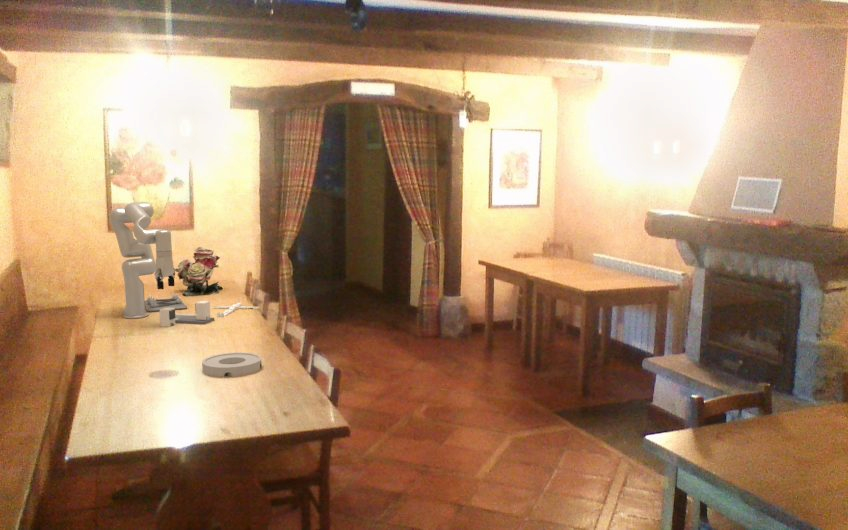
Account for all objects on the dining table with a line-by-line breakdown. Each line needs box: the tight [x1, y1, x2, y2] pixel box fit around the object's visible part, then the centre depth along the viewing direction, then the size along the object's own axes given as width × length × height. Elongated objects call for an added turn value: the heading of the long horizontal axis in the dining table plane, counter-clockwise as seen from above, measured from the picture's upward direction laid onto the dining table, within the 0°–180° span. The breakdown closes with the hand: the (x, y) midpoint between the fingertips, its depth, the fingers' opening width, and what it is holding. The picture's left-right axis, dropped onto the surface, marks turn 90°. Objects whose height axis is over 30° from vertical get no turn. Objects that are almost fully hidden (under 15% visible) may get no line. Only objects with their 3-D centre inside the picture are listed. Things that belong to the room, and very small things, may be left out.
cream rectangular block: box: [159, 308, 176, 328], centre depth 371 cm, size 6×6×9 cm
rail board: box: [175, 300, 215, 325], centre depth 380 cm, size 25×10×11 cm, turn 77°
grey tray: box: [145, 294, 188, 313], centre depth 422 cm, size 30×22×7 cm
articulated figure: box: [212, 302, 260, 318], centre depth 406 cm, size 27×4×30 cm
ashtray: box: [201, 352, 263, 378], centre depth 291 cm, size 23×23×4 cm
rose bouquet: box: [175, 246, 224, 298], centre depth 465 cm, size 26×29×30 cm
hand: (166, 287), depth 369 cm, fingers open, 9 cm apart
